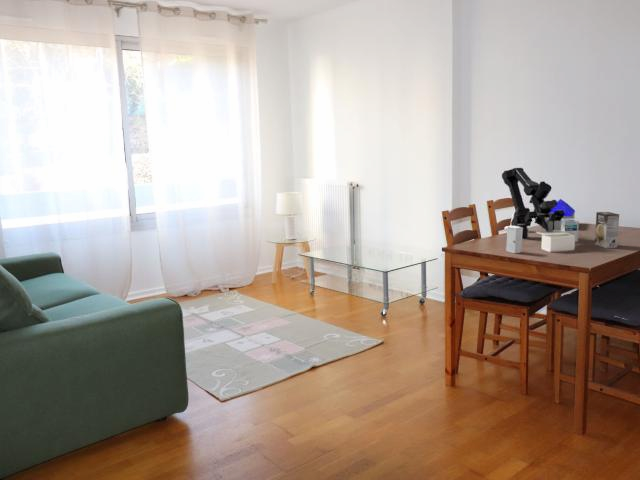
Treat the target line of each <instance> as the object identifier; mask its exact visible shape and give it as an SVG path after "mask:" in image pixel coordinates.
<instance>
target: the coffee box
mask: <svg viewBox="0 0 640 480" xmlns="http://www.w3.org/2000/svg"><path fill="white" fill-rule="evenodd" d="M595 215H596V218H595V235H594V238H595V239H594V245H595V246H598V247H601V248H603V249H612V248H614V249H615V248H616V249H617V248H618V240H619V224H620V213H619V214H618V213H614V212H611V211H596V213H595Z"/></svg>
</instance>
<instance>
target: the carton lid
mask: <svg viewBox="0 0 640 480" xmlns="http://www.w3.org/2000/svg"><path fill="white" fill-rule="evenodd" d="M546 223H547V226H548V229H549V230H548V231H547V230H546V229H545V231H535V234H538V235H541V236H542V235H545V236H546V235H563V234H570V233H567V232H563V231H561V230H553V221H546Z"/></svg>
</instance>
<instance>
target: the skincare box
mask: <svg viewBox="0 0 640 480" xmlns="http://www.w3.org/2000/svg"><path fill="white" fill-rule="evenodd" d="M507 226H508V227H507ZM507 226H506V227H507V232H506V248H505V251H506V252H508V253H512V254H519V253H522V249H523V247H522V245H523V238H522V234H523V227H519V226H510V225H507Z"/></svg>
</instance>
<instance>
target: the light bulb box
mask: <svg viewBox="0 0 640 480" xmlns="http://www.w3.org/2000/svg"><path fill="white" fill-rule="evenodd" d="M579 222H580V221H578V220H577V219H575V218H574V219H564V218H562V219H561V230H560V231H563V232H567V233H570V235H573V236H575V243H579V226H580V225H579Z"/></svg>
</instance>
